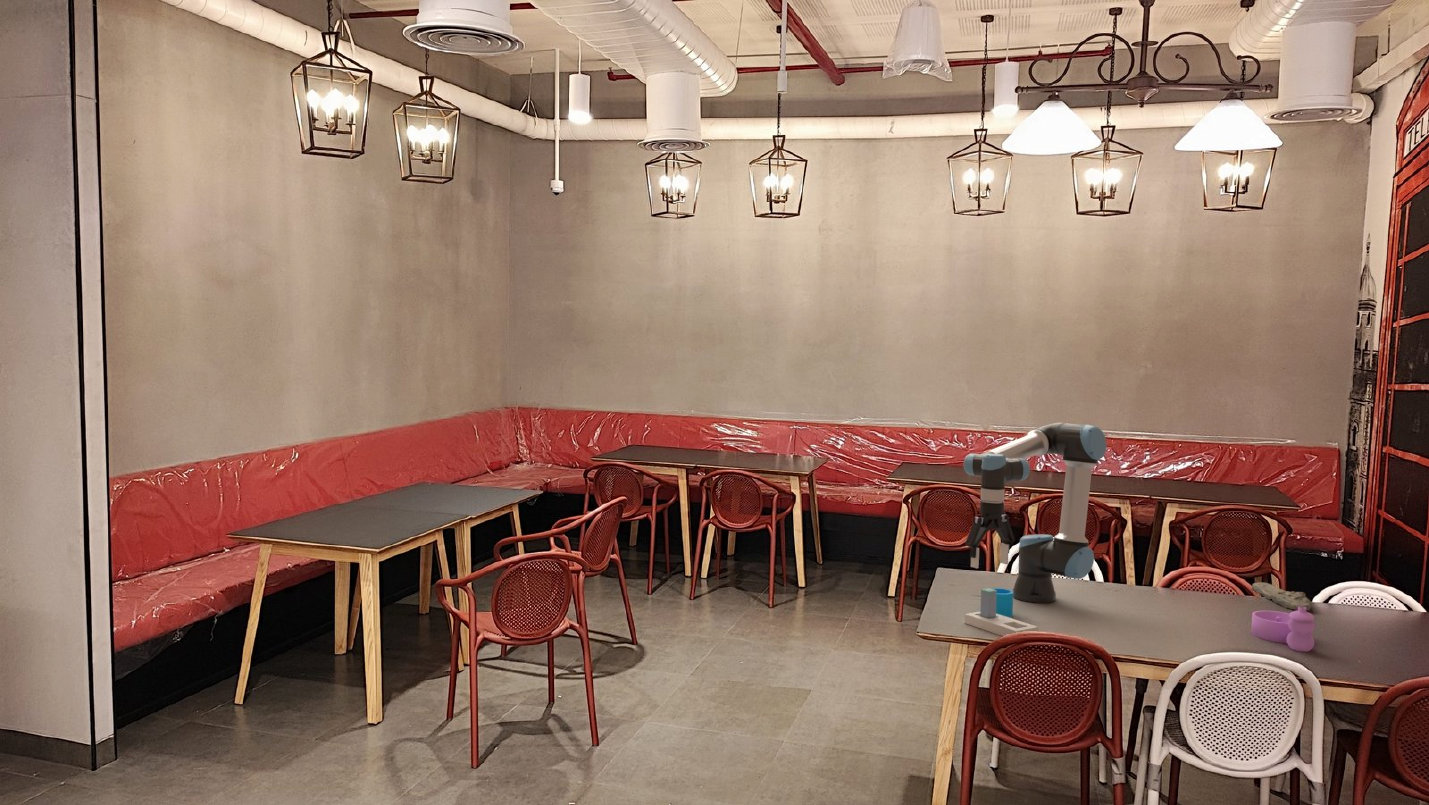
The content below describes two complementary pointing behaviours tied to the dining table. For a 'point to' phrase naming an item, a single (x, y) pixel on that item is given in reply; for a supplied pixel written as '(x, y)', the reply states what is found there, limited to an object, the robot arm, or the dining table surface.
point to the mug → (1004, 602)
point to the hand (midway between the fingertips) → (989, 565)
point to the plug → (988, 603)
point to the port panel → (998, 624)
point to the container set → (1285, 628)
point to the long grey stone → (1283, 596)
